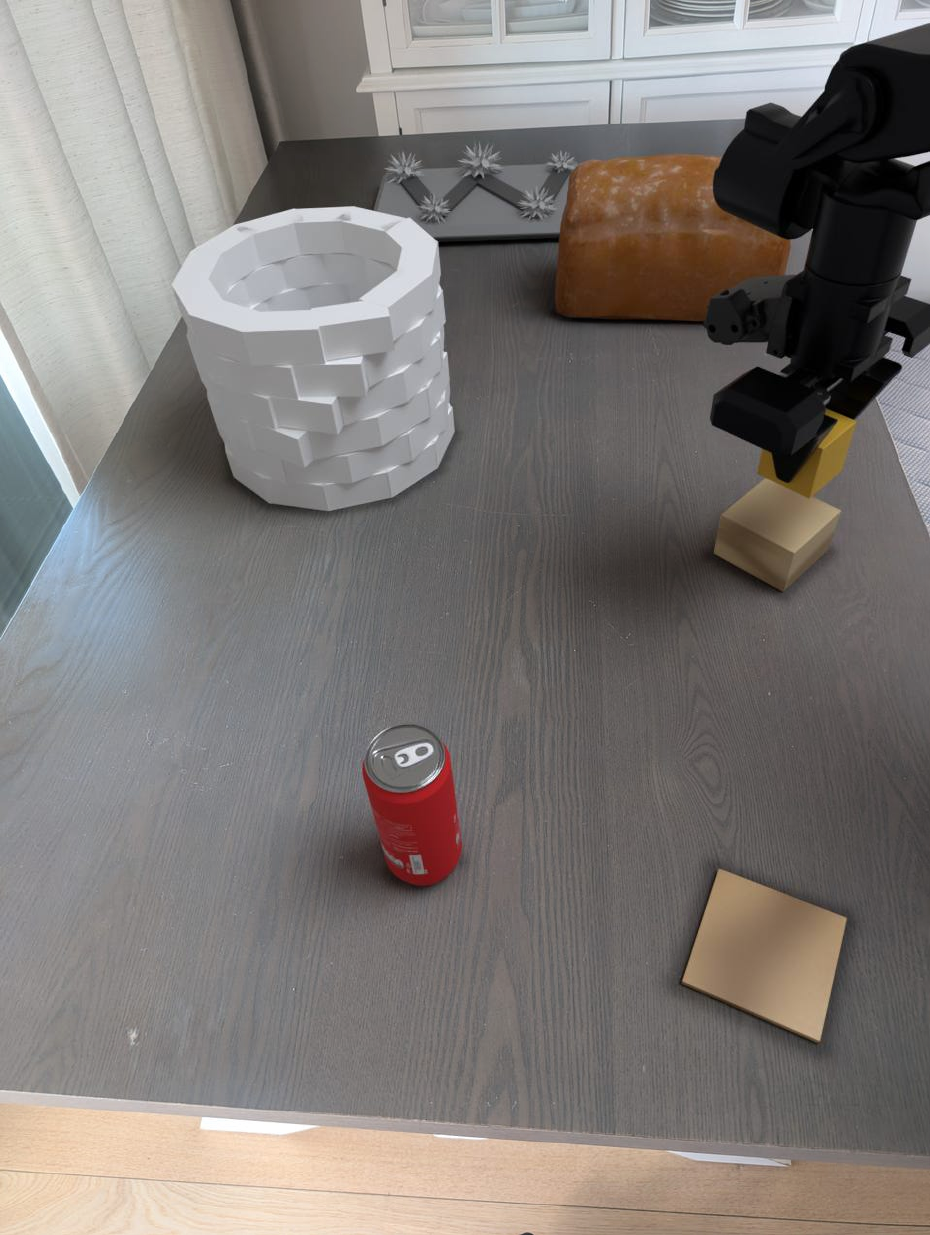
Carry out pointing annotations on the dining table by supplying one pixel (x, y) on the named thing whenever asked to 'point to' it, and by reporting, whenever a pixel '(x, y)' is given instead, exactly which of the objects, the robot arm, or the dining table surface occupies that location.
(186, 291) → the basket
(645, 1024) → the dining table surface
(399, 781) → the beverage can
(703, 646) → the dining table surface
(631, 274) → the bread
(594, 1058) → the dining table surface
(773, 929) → the cork coaster
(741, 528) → the birch block
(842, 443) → the mustard cube
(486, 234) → the decorative plate
